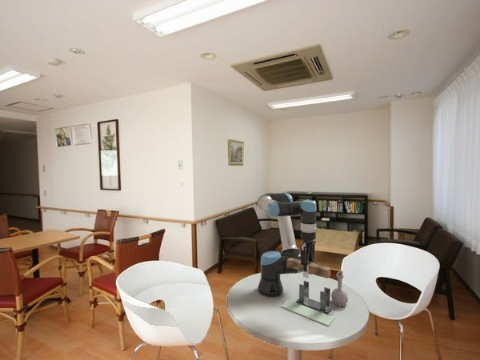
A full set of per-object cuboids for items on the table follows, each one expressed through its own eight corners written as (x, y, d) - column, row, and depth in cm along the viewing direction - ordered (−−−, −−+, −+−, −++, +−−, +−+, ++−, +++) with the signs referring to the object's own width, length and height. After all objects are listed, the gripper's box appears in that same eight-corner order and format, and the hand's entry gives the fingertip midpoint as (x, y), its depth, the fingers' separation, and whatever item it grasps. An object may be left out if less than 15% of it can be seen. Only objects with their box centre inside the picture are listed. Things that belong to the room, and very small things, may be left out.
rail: (286, 266, 136) (286, 259, 136) (290, 264, 139) (290, 257, 139) (327, 278, 122) (327, 270, 122) (330, 275, 125) (330, 267, 125)
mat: (281, 306, 137) (281, 306, 137) (288, 300, 143) (288, 299, 143) (328, 326, 121) (328, 325, 121) (334, 318, 127) (334, 317, 127)
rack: (296, 302, 142) (296, 283, 141) (301, 297, 147) (302, 279, 147) (328, 314, 130) (328, 294, 130) (332, 308, 136) (333, 289, 135)
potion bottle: (349, 307, 136) (350, 275, 135) (332, 306, 138) (332, 273, 137) (346, 299, 145) (347, 268, 144) (329, 297, 146) (330, 267, 145)
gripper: (308, 236, 121) (307, 283, 122) (321, 228, 134) (321, 272, 135) (293, 233, 125) (293, 279, 127) (308, 226, 139) (307, 268, 140)
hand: (307, 275), depth 131 cm, fingers closed on rail, 4 cm apart
